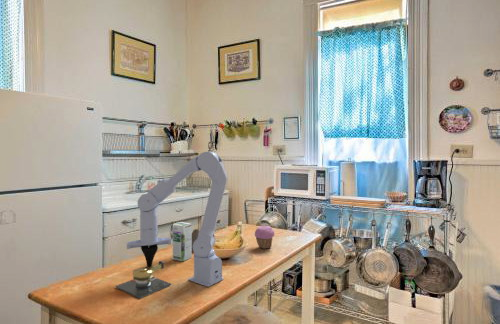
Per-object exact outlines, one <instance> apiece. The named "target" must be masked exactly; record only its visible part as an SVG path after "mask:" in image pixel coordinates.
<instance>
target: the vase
mask: <svg viewBox="0 0 500 324" xmlns="http://www.w3.org/2000/svg"><path fill="white" fill-rule="evenodd" d="M199 231H200V229H198V228H197V229H196V228H195V229H192V251H193V243H194V242H195V240H196V239H197V238H198V234H199Z"/></svg>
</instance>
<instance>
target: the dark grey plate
mask: <svg viewBox="0 0 500 324" xmlns="http://www.w3.org/2000/svg"><path fill="white" fill-rule="evenodd" d="M170 285H171V286H172V283H171V282H168V281H165V280H163V279H160V278H158V277H156V276H155V277H154V276H153V277H152V278H149V279H146V280H136V279H134V278H132V279H129V280H128V281H126V282H122V283H121V284H120V283H119V284H118V285H115V287H116V288H115V287H114V288H115V289H117V288H118V289H117V290H119V289H120V290H119V291H121V290H122V291H121V292H123V291H124V292H123V293H126V294H128V295H130V296H132V295H133V296H132V297H135V298H137V299H139V300H141V299H143V298H146V297H147V295H148V296H150V295H152V294H155V293H157V292H159V291H162V290H164V289H166V288H168V287H171V286H170ZM163 288H164V289H163ZM161 289H162V290H161ZM156 291H157V292H156ZM154 292H155V293H154ZM149 294H150V295H149ZM145 296H146V297H145Z"/></svg>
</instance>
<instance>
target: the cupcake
mask: <svg viewBox="0 0 500 324" xmlns="http://www.w3.org/2000/svg"><path fill="white" fill-rule="evenodd" d="M254 237H255V240H256V242H257V246H258V248H260V249H261V248H262V249H264V250H266V249H270V248H271V247H272V243H273V237H275V230H274V229H273V228H272V227H271V226H269V225H261V226H258V227H257V228H256V230H255V232H254Z"/></svg>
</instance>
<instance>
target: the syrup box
mask: <svg viewBox="0 0 500 324" xmlns="http://www.w3.org/2000/svg"><path fill="white" fill-rule="evenodd" d="M192 227H193V225H192V222H183V221H178V222H175V223H173V224H172V260H173V261H179V262H185V261H187V260H190V259H191V258H192V256H193V254H192V252H193V250H192V232H193V229H192Z"/></svg>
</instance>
